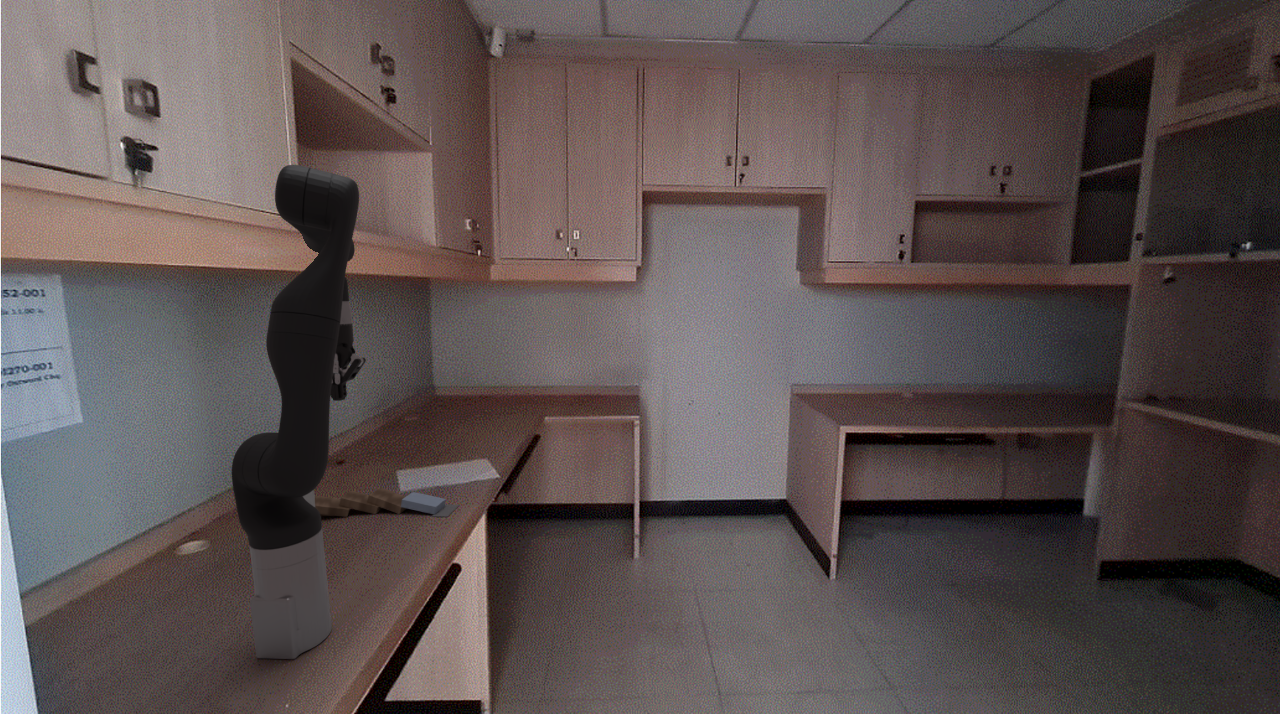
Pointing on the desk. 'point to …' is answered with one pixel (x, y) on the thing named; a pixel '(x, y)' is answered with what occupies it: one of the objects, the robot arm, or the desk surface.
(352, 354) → the robot arm
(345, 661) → the desk surface
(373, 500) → the tile
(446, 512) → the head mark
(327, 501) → the tile
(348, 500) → the tile
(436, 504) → the blue-grey rectangular block
